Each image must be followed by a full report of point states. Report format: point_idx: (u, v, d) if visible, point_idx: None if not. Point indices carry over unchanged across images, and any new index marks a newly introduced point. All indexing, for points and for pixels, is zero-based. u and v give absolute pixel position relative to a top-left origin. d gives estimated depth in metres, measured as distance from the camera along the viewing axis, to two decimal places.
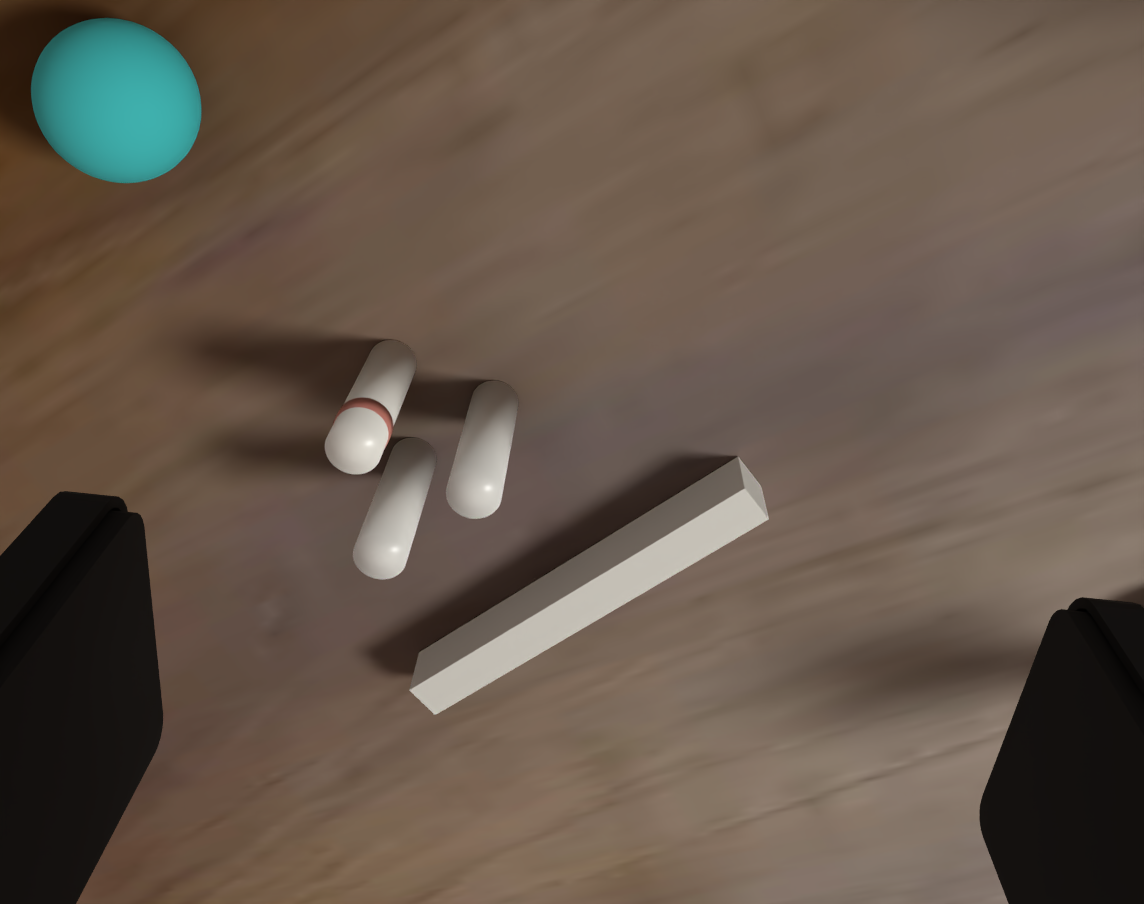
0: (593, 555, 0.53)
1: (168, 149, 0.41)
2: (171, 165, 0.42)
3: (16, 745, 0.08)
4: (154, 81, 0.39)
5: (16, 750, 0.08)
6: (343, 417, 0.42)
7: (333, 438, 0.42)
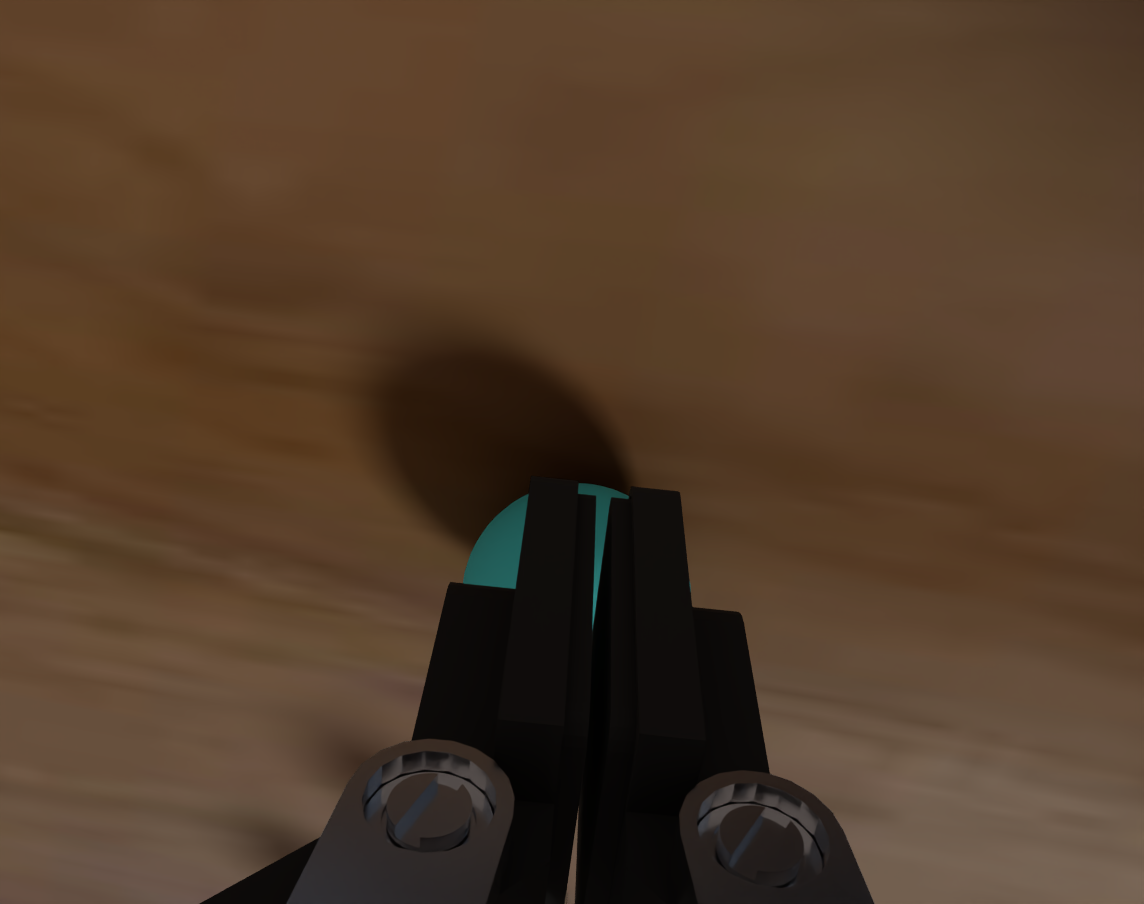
0: None
1: None
2: None
3: None
4: None
5: None
6: None
7: None
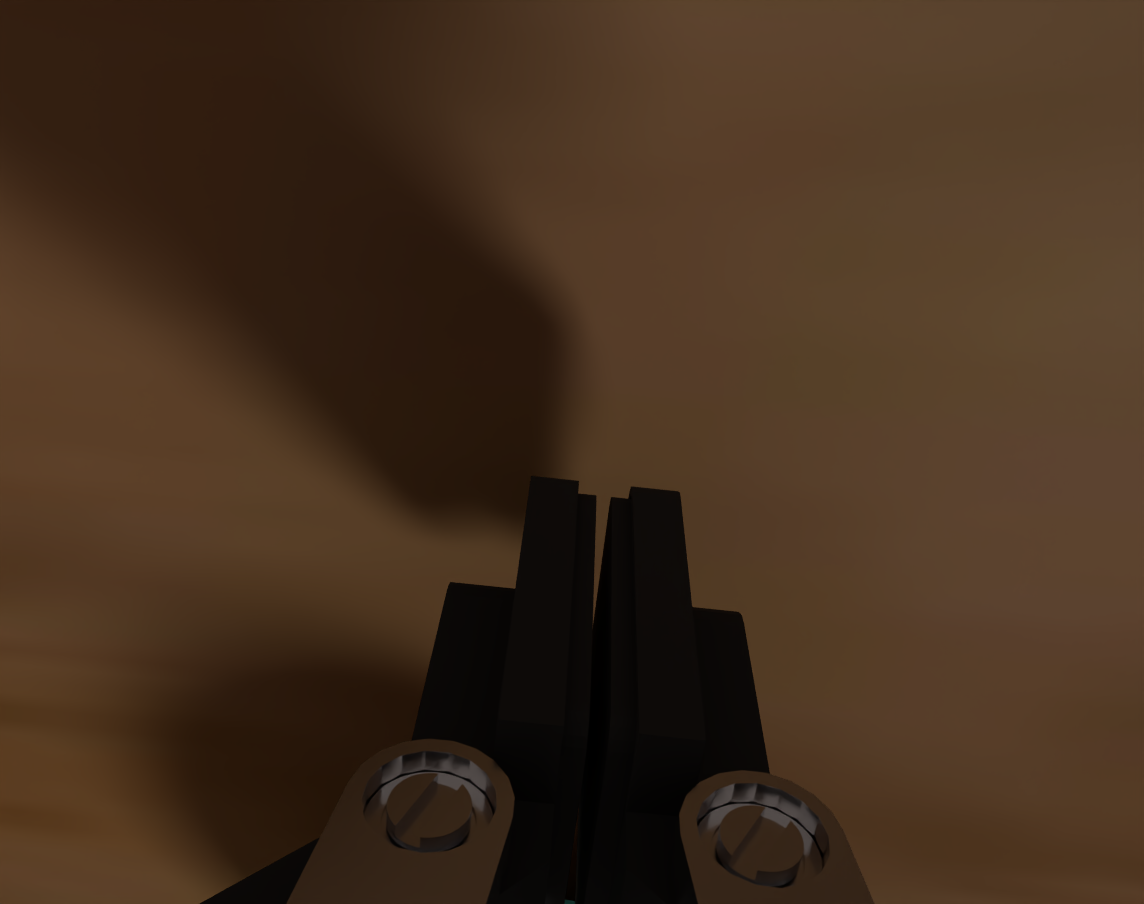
0: None
1: None
2: None
3: None
4: None
5: None
6: None
7: None
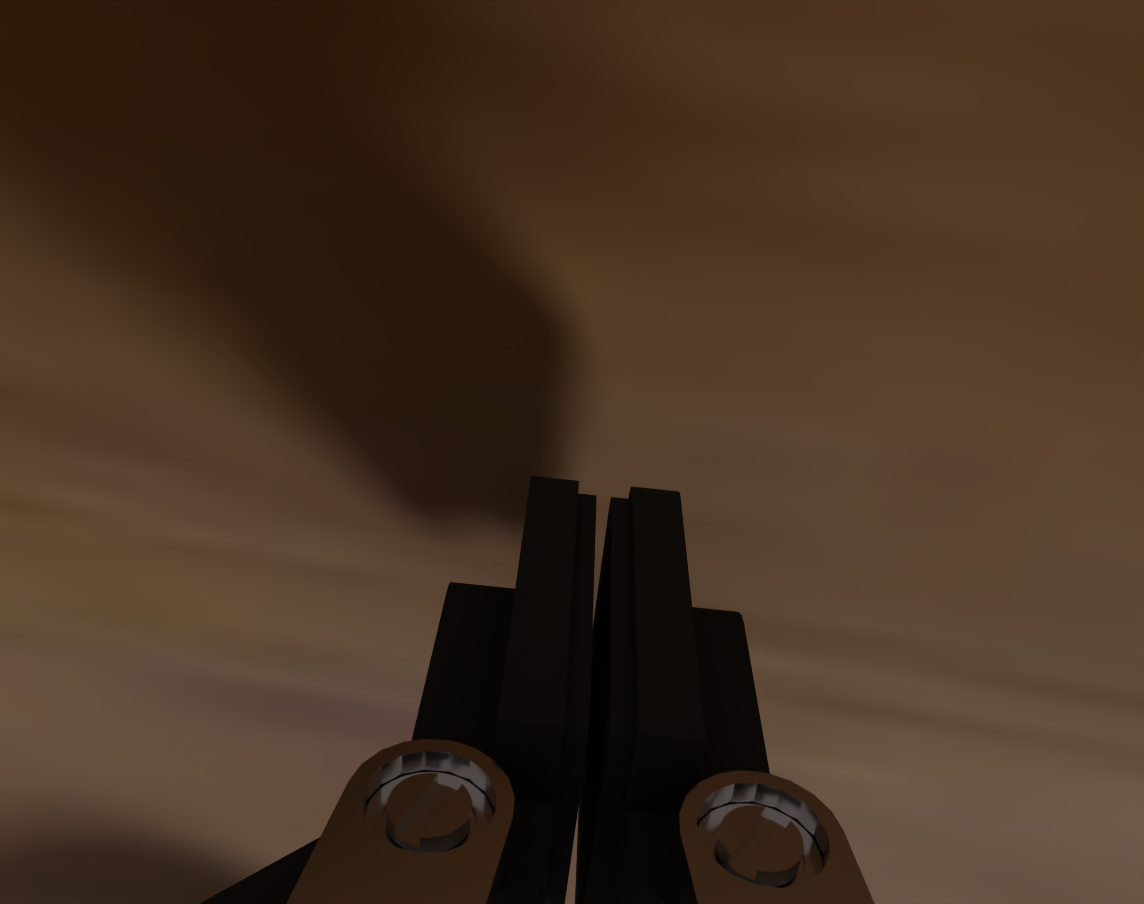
0: None
1: None
2: None
3: None
4: None
5: None
6: None
7: None
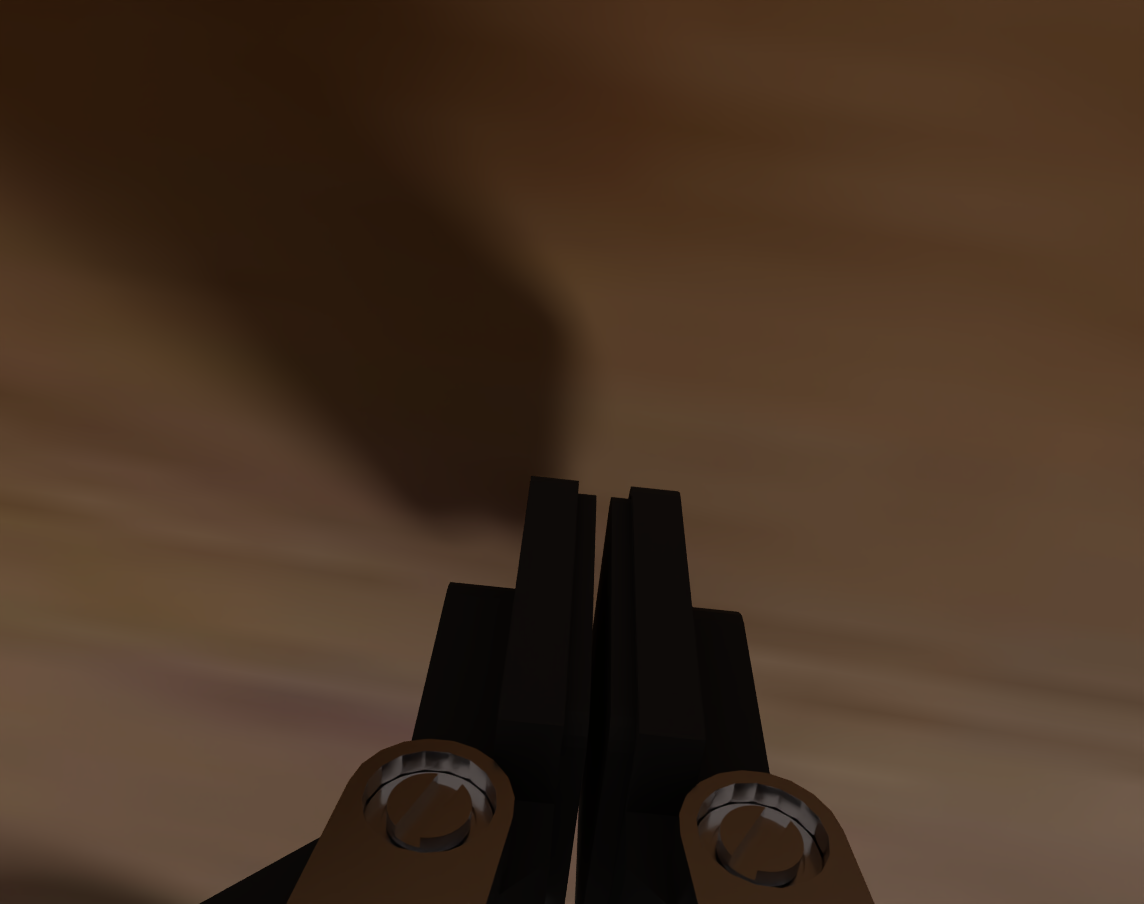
0: None
1: None
2: None
3: None
4: None
5: None
6: None
7: None
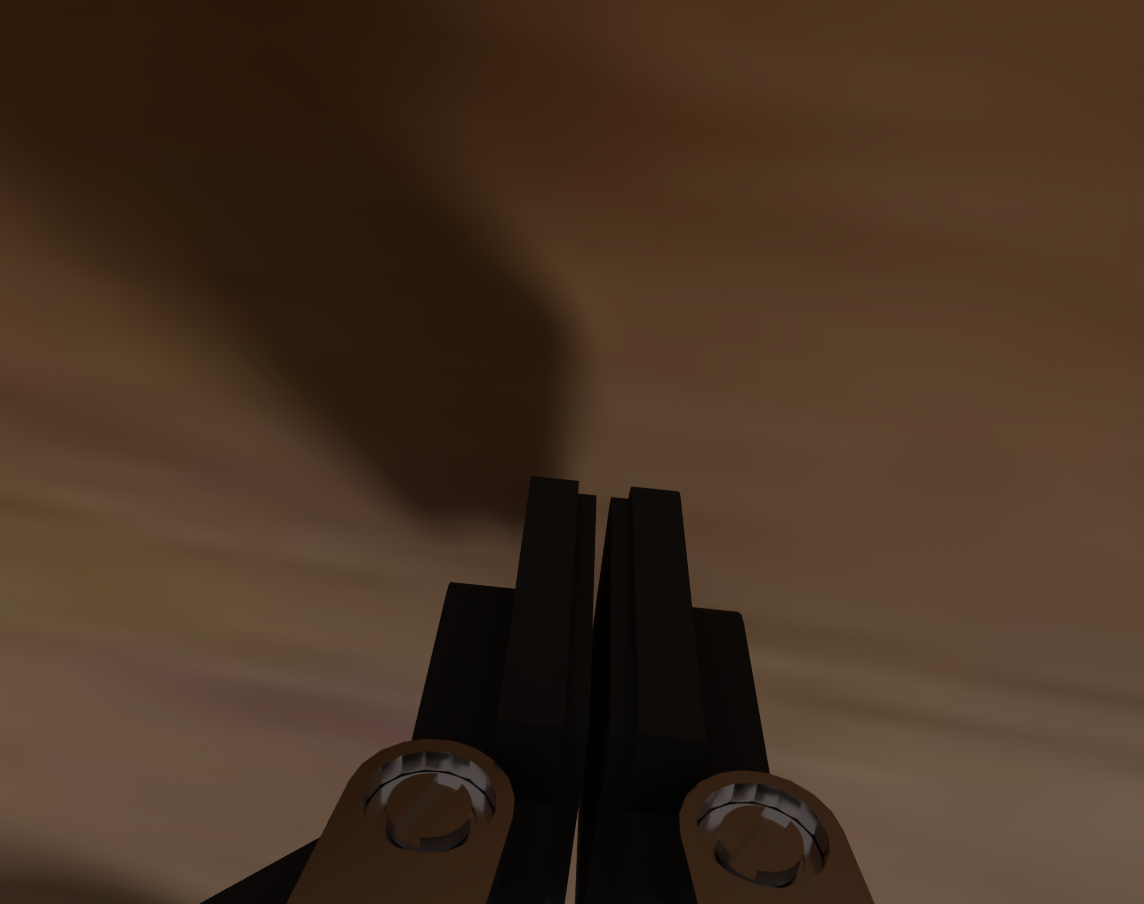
0: None
1: None
2: None
3: None
4: None
5: None
6: None
7: None
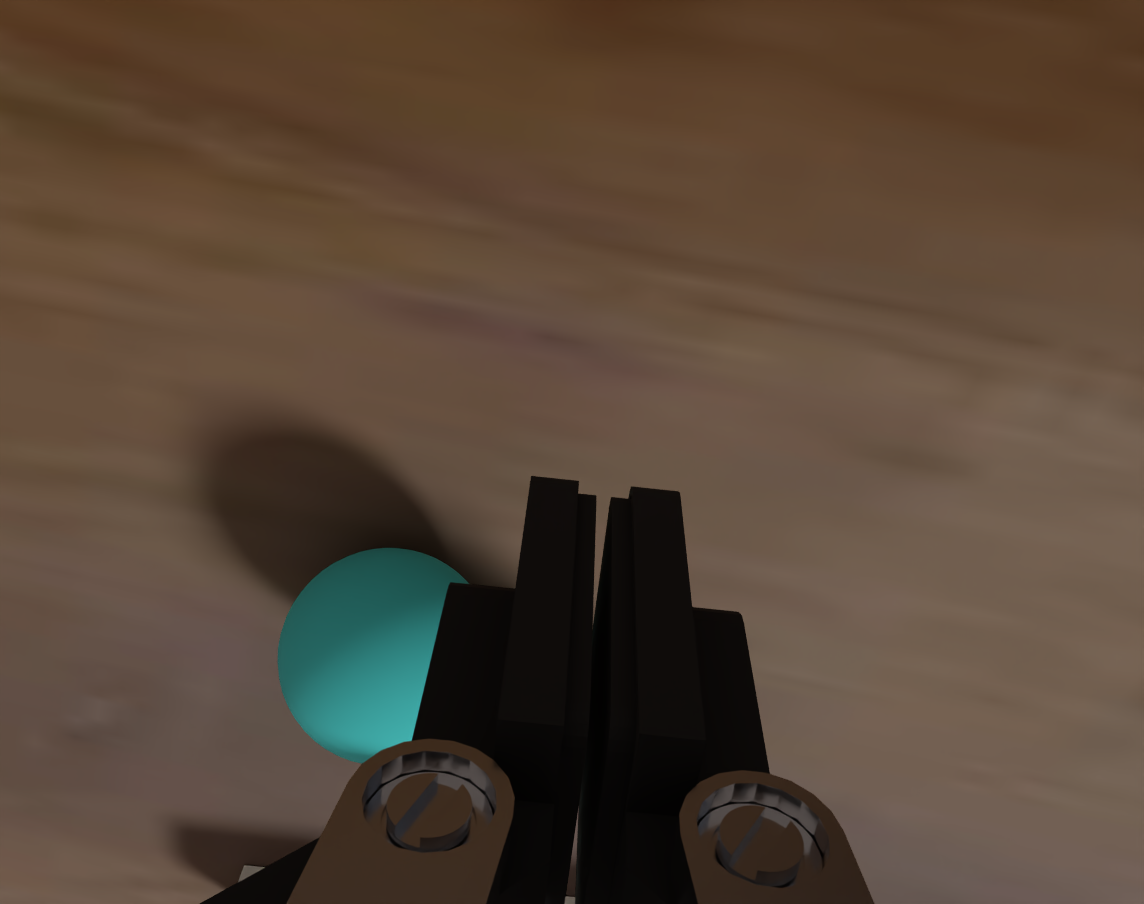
0: None
1: (346, 722, 0.28)
2: (310, 721, 0.28)
3: None
4: None
5: None
6: None
7: None
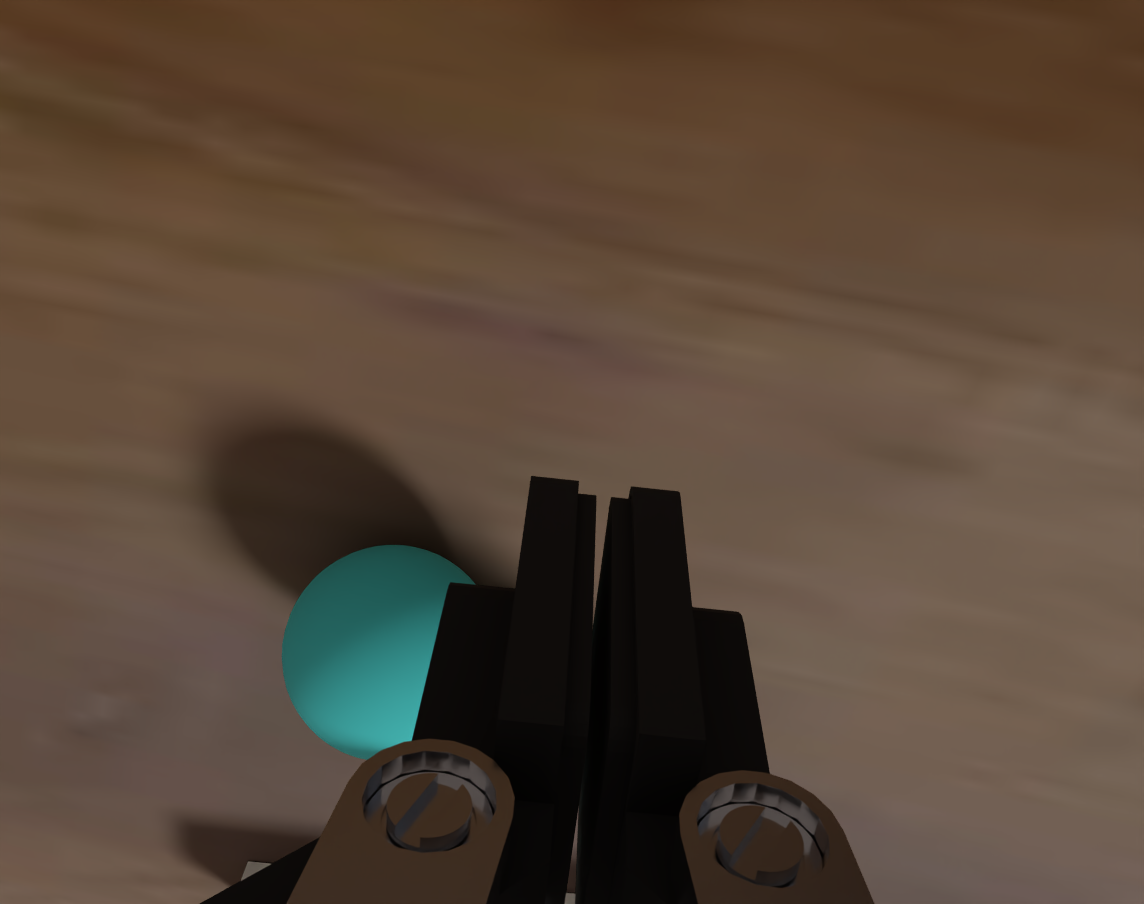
0: None
1: (350, 718, 0.28)
2: (315, 717, 0.29)
3: None
4: None
5: None
6: None
7: None
